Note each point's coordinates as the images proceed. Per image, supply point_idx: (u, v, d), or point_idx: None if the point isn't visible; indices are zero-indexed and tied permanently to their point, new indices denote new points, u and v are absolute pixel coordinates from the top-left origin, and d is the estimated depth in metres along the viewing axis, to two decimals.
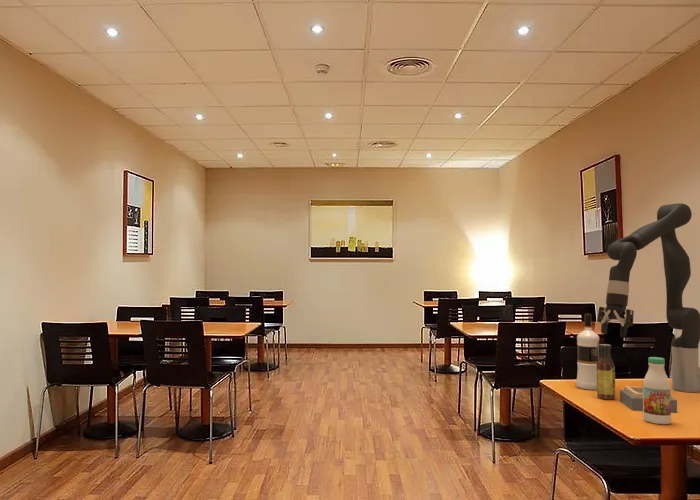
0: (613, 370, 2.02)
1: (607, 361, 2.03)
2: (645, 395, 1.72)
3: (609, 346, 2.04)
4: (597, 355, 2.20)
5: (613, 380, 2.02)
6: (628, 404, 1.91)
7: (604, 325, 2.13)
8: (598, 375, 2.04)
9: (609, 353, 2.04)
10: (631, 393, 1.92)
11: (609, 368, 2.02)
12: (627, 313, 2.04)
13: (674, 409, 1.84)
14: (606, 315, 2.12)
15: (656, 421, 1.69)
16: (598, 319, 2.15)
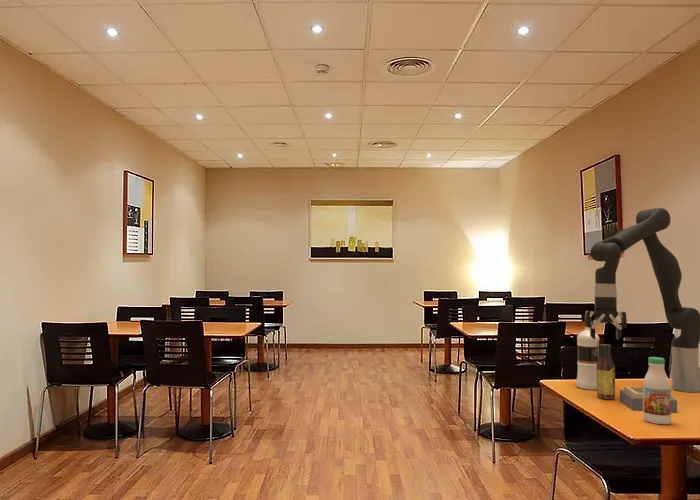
0: (613, 370, 2.02)
1: (607, 361, 2.03)
2: (645, 395, 1.72)
3: (609, 346, 2.04)
4: (597, 355, 2.20)
5: (613, 380, 2.02)
6: (628, 404, 1.91)
7: None
8: (598, 375, 2.04)
9: (609, 353, 2.04)
10: (631, 393, 1.92)
11: (609, 368, 2.02)
12: (624, 316, 2.03)
13: (674, 409, 1.84)
14: (599, 319, 2.04)
15: (656, 421, 1.69)
16: (587, 324, 2.05)
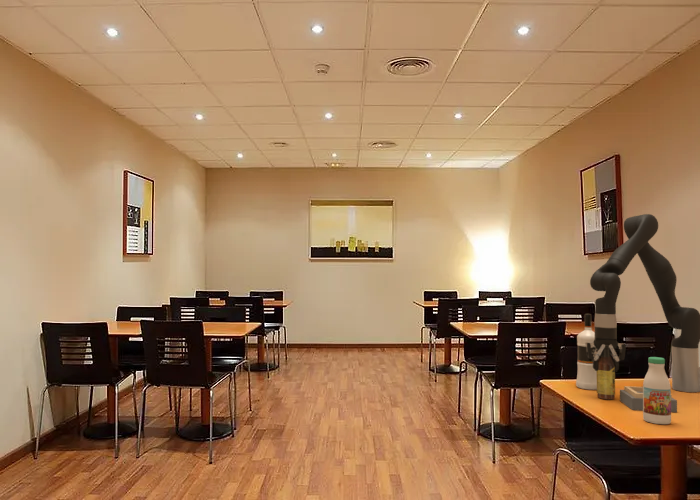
0: (613, 370, 2.02)
1: (607, 361, 2.03)
2: (645, 395, 1.72)
3: None
4: None
5: (613, 380, 2.02)
6: (628, 404, 1.91)
7: None
8: (598, 375, 2.04)
9: (609, 353, 2.04)
10: (631, 393, 1.92)
11: (609, 368, 2.02)
12: (623, 348, 2.03)
13: (674, 409, 1.84)
14: (600, 351, 2.04)
15: (656, 421, 1.69)
16: (590, 356, 2.05)
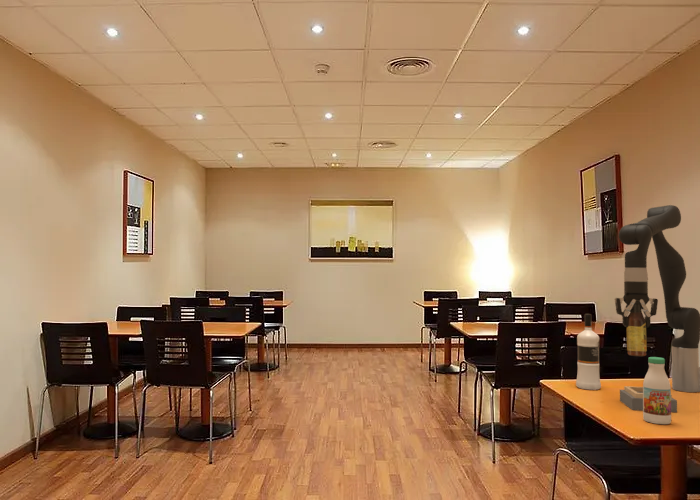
0: (644, 326, 1.94)
1: (638, 316, 1.94)
2: (645, 395, 1.72)
3: None
4: (597, 355, 2.20)
5: (644, 336, 1.94)
6: (628, 404, 1.91)
7: None
8: (628, 331, 1.96)
9: None
10: (631, 393, 1.92)
11: (640, 324, 1.94)
12: (655, 303, 1.94)
13: (674, 409, 1.84)
14: (630, 306, 1.95)
15: (656, 421, 1.69)
16: (620, 312, 1.97)
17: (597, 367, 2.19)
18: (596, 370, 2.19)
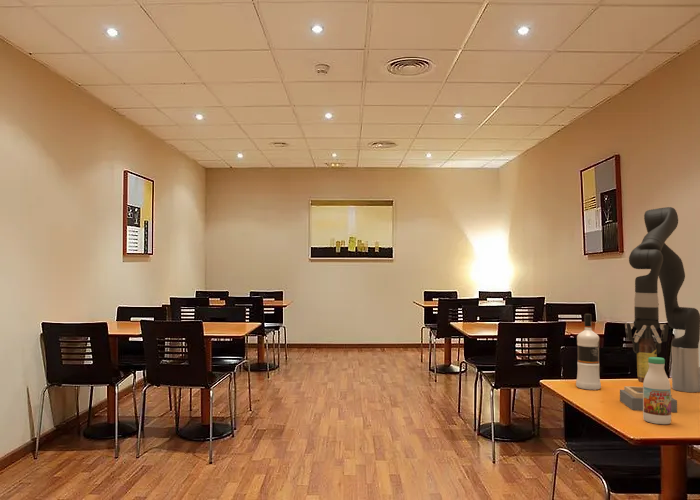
0: (655, 352, 1.91)
1: (648, 342, 1.91)
2: (645, 395, 1.72)
3: None
4: (597, 355, 2.20)
5: None
6: (628, 404, 1.91)
7: None
8: (639, 358, 1.93)
9: (650, 334, 1.92)
10: (631, 393, 1.92)
11: (651, 350, 1.91)
12: (666, 329, 1.91)
13: (674, 409, 1.84)
14: (641, 332, 1.92)
15: (656, 421, 1.69)
16: (630, 338, 1.93)
17: (597, 367, 2.19)
18: (596, 370, 2.19)
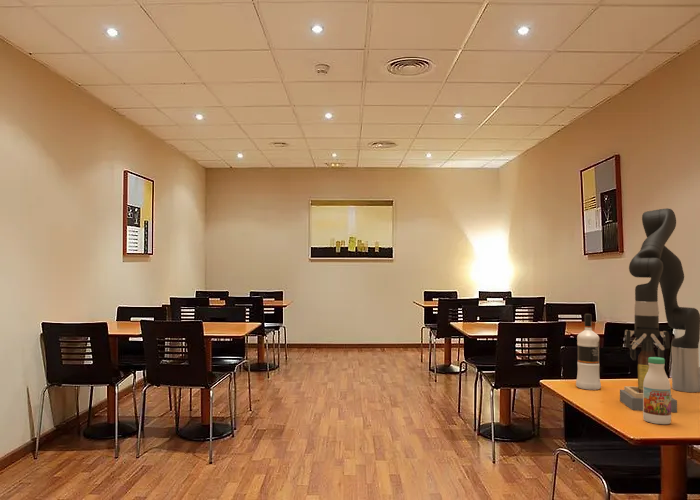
0: None
1: (650, 355, 1.91)
2: (645, 395, 1.72)
3: None
4: (597, 355, 2.20)
5: None
6: (628, 404, 1.91)
7: None
8: (640, 370, 1.92)
9: (652, 347, 1.92)
10: (631, 393, 1.92)
11: None
12: (667, 336, 1.91)
13: (674, 409, 1.84)
14: (640, 340, 1.92)
15: (656, 421, 1.69)
16: (627, 344, 1.93)
17: (597, 367, 2.19)
18: (596, 370, 2.19)
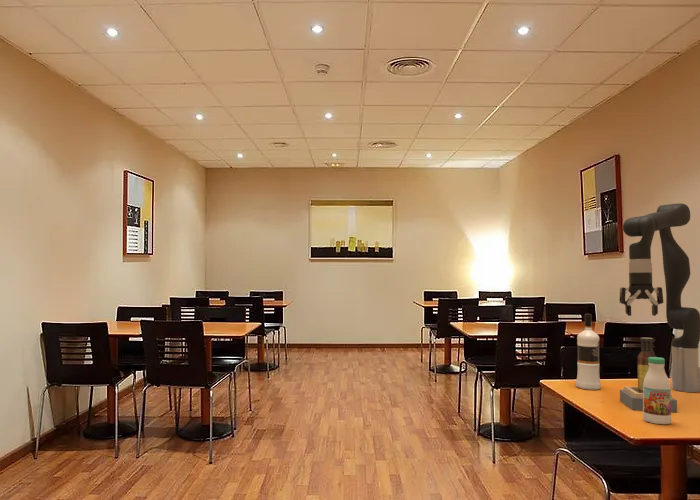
0: None
1: (649, 355, 1.91)
2: (645, 395, 1.72)
3: (651, 339, 1.92)
4: (597, 355, 2.20)
5: None
6: (628, 404, 1.91)
7: None
8: (640, 370, 1.92)
9: (651, 347, 1.92)
10: (631, 393, 1.92)
11: None
12: (660, 291, 1.99)
13: (674, 409, 1.84)
14: (635, 296, 2.00)
15: (656, 421, 1.69)
16: (623, 301, 2.01)
17: (597, 367, 2.19)
18: (596, 370, 2.19)
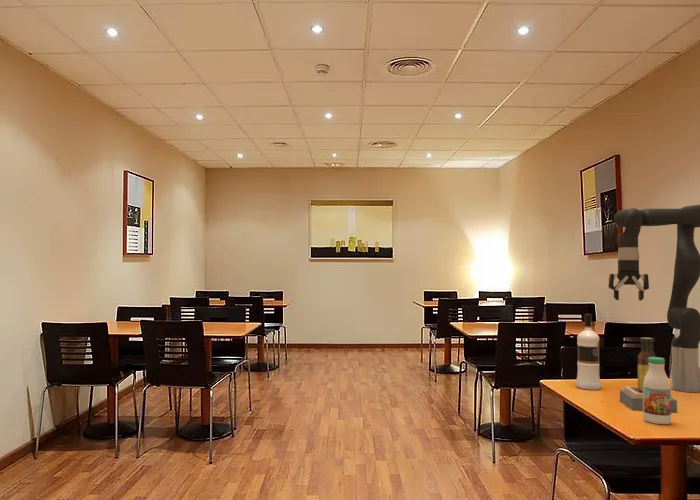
0: None
1: (649, 355, 1.91)
2: (645, 395, 1.72)
3: (651, 339, 1.92)
4: (597, 355, 2.20)
5: None
6: (628, 404, 1.91)
7: None
8: (639, 370, 1.92)
9: (651, 347, 1.92)
10: (631, 393, 1.92)
11: None
12: (646, 278, 2.14)
13: (674, 409, 1.84)
14: (622, 281, 2.15)
15: (656, 421, 1.69)
16: (611, 286, 2.16)
17: (597, 367, 2.19)
18: (596, 370, 2.19)
